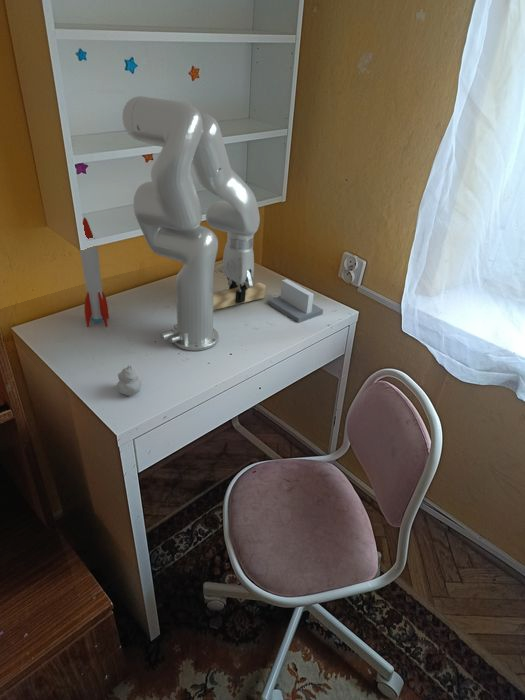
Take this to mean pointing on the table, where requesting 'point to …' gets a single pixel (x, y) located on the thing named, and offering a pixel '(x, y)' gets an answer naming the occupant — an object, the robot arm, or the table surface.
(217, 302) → the rod
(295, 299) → the fulcrum
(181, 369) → the table surface
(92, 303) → the toy rocket
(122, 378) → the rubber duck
